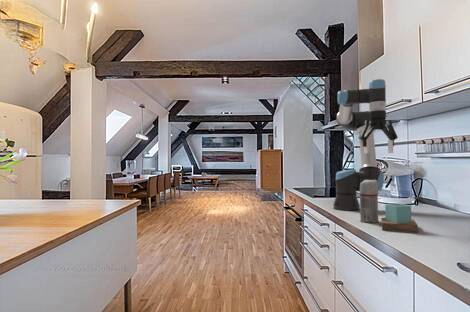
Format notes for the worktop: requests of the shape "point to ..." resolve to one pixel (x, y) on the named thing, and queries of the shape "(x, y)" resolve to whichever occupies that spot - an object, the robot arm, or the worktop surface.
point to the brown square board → (399, 226)
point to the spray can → (369, 201)
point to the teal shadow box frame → (398, 213)
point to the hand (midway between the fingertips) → (378, 153)
